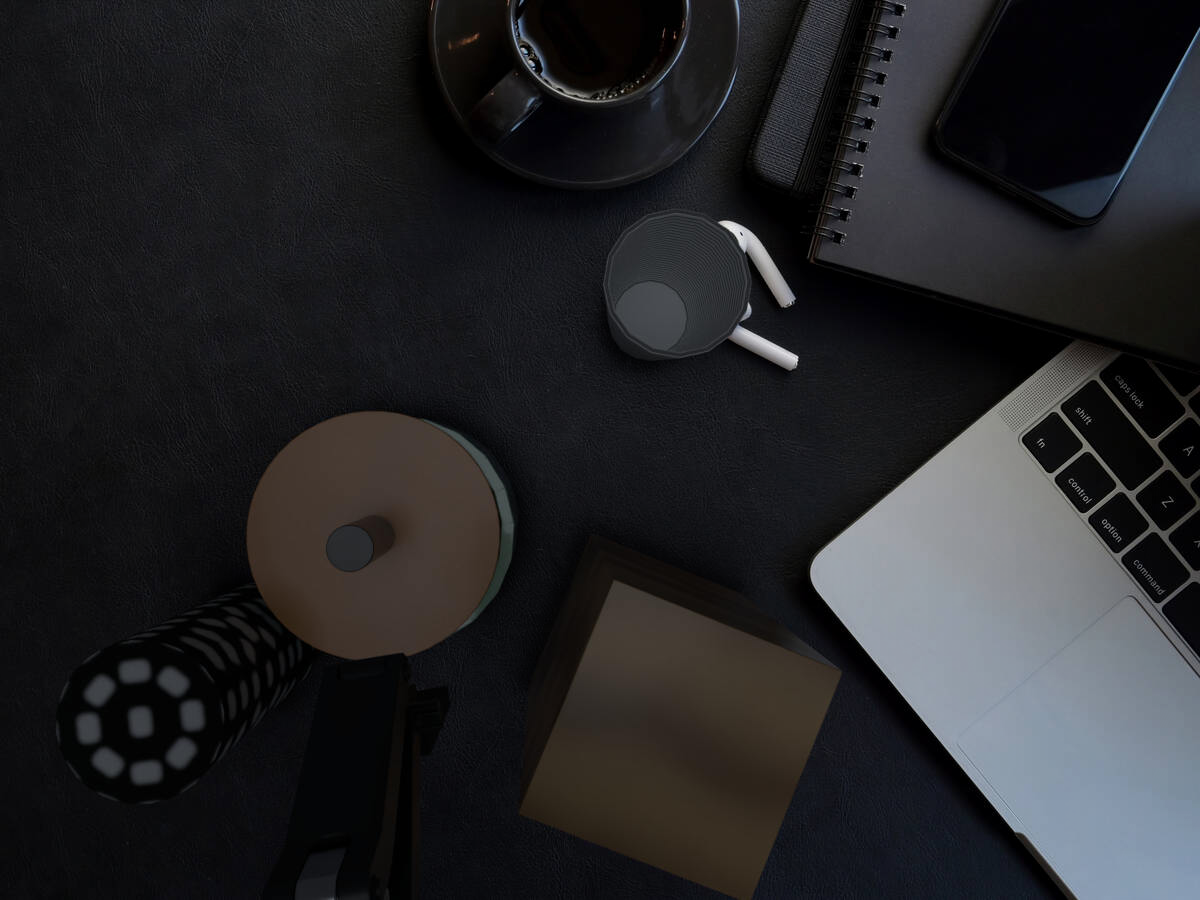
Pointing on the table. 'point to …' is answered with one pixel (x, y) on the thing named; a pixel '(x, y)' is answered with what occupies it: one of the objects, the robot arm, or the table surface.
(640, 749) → the stand
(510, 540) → the pot
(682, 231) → the cup
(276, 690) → the spotted tube
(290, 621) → the lid
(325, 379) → the table surface
